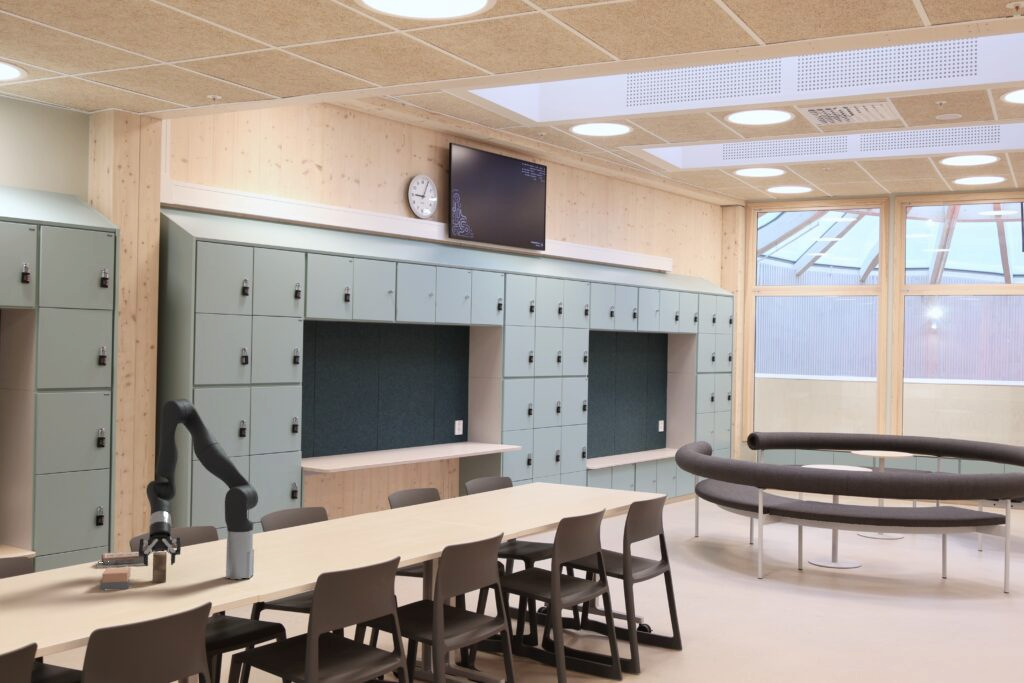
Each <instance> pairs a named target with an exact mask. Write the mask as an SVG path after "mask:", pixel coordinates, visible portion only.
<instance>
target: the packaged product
mask: <svg viewBox="0 0 1024 683" xmlns="http://www.w3.org/2000/svg"><path fill="white" fill-rule="evenodd" d="M143 551H144V552H145V551H146V550H143ZM108 561H109V562H108ZM99 562H103V563H99ZM126 566H134V567H147V566H146V565H144V557H143V556H139V551H124V552H121V551H120V552H103V553H102V554H101V559H98V560H97V566H96V567H98V568H99V569H108V568H107V567H117V568H127V567H126ZM98 568H97V569H98Z"/></svg>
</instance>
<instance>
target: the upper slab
mask: <svg viewBox="0 0 1024 683" xmlns="http://www.w3.org/2000/svg"><path fill="white" fill-rule="evenodd" d="M101 575H102V576H101V579H102V583H108V582H127V581H128V579H129V580H130V578H131V567H117V568H105V570H104V571H103V573H102V574H101Z"/></svg>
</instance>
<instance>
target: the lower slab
mask: <svg viewBox="0 0 1024 683" xmlns="http://www.w3.org/2000/svg"><path fill="white" fill-rule="evenodd" d="M99 586H100V588H99V589H100V590H103V591H106V590H105V589H120V590H129V588H130V578H129V579H128V581H127V582H108V583H102V578H101V580H100V585H99ZM100 590H99V591H100Z"/></svg>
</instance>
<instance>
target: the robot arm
mask: <svg viewBox="0 0 1024 683" xmlns="http://www.w3.org/2000/svg"><path fill="white" fill-rule="evenodd" d="M180 424H182V425H183V426H184V427H185V428H186V429H187V431H188V433H189V434H190V435H191V437H192V438H191V439H192V444H193V445H192V446H193V451H194V452H193V453H194V455H195V456H196V458H197V459H198V461H199V462H200V463H201V466H203V467H204V469H205V470H206V471H208V472H209V473H210V474H212V476H214V477H216V478H218V479H219V480H221V481H222V482H223V483H224V484H225V485H226V487H228V491H227V492H226V494H225V497H224V498H225V499H224V522H225V525H226V553H225V554H226V556H225V557H226V559H225V560H226V561H225V563H226V564H225V578H226V577H227V578H226V579H228V578H230V579H229V580H235V579H238V580H242V579H241V578H250V577H251V576H252V575H253V574H254V572H255V570H254V569H255V568H254V566H255V565H254V564H255V549H254V547H253V545H254V543H253V542H254V523H253V521H252V520H249V518H248V511H249V510H252V509H254V508H255V507H256V506H257V505H258V502H259V495H258V492H257V490H256V489H255V487H254V486H253V485H252V484H251V483H250V482H249V480H248V479H247V478H246V477H245V476H244V475H243V474H242V473H241V471H240V470H239V469H238V467H237V466H236V465H235V463H233V461H232V459H230V456H228V455H227V454H228V453H226V451H225V449H224V448H223V446H221V444H220V443H219V442H218V440H217V439H216V438H215V437H214V435H213V433H212V432H211V431H210V429H209V427H207V425H206V423H205V422H204V420H203V418H202V417H201V415H200V414H199V412H198V410H197V408H196V406H195V405H194V404H193V403H192V401H191V400H189V399H187V398H178V399H170V400H167V401H166V402H164V404H163V405H162V408H161V414H160V436H159V438H160V441H159V450H158V451H159V452H158V456H157V462H156V466H155V474H156V476H159V477H161V478H163V479H166V480H167V481H164V480H163V481H162V480H161V481H160V480H150V482H148V484H147V486H146V492H145V493H146V497H147V499H148V502H149V506H150V519H149V528H148V529H149V532H148V534H149V536H148V539H146V540H145V539H144V538H140V539H139V545H138V546H139V547H138V552H139V556H143V557H144V565H146V566H145V567H148V566H149V555H151V554H153V552H167V553H168V554H170V565H171V566H174V564H175V563H176V556H180V555H181V552H182V550H181V549H182V548H181V537H179V536H178V537H176V538H172V516H171V512H172V505H171V503H170V501H171V500H173V499H174V498H175V496H176V495H177V488H176V477H175V476H176V469H177V464H178V459H179V458H178V457H179V453H178V452H179V451H178V447H177V443H176V438H175V436H176V430H177V427H178V425H180ZM172 544H174V546H176V549H174V548H173V546H172ZM146 545H148V547H147V548H146V550H144V548H145V546H146ZM144 551H145V552H144ZM253 576H254V575H253ZM253 576H252V577H253ZM252 577H251V578H252ZM251 578H250V579H251Z"/></svg>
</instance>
